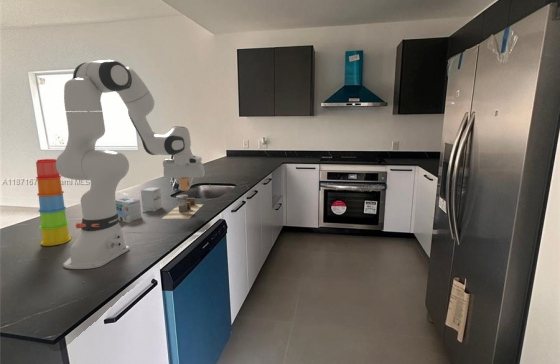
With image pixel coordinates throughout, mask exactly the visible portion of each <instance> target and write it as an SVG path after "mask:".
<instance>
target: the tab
mask: <svg viewBox="0 0 560 364" xmlns="http://www.w3.org/2000/svg"><path fill="white" fill-rule="evenodd" d="M190 180H191V179H189V177H184V178H180V183H181V186H180V191H181V192H182V191H189V189H191V186H188V182H190Z"/></svg>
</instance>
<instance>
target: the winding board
mask: <svg viewBox="0 0 560 364" xmlns="http://www.w3.org/2000/svg"><path fill="white" fill-rule="evenodd" d="M175 198H176V199H177V204H178V205H177V206H176V207H174V208H173V209H171V210H170V212H168V213H167V214H165V215H164V216H163V217H161V220H189V219H191V217H192V216H193V215H194V214H195V213H197V211H198V210H200V209H201V208H202V207H203V206H205V204H203V203H197V202H196V198H195V197H189V195H188V194H178V195H176V196H175Z"/></svg>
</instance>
